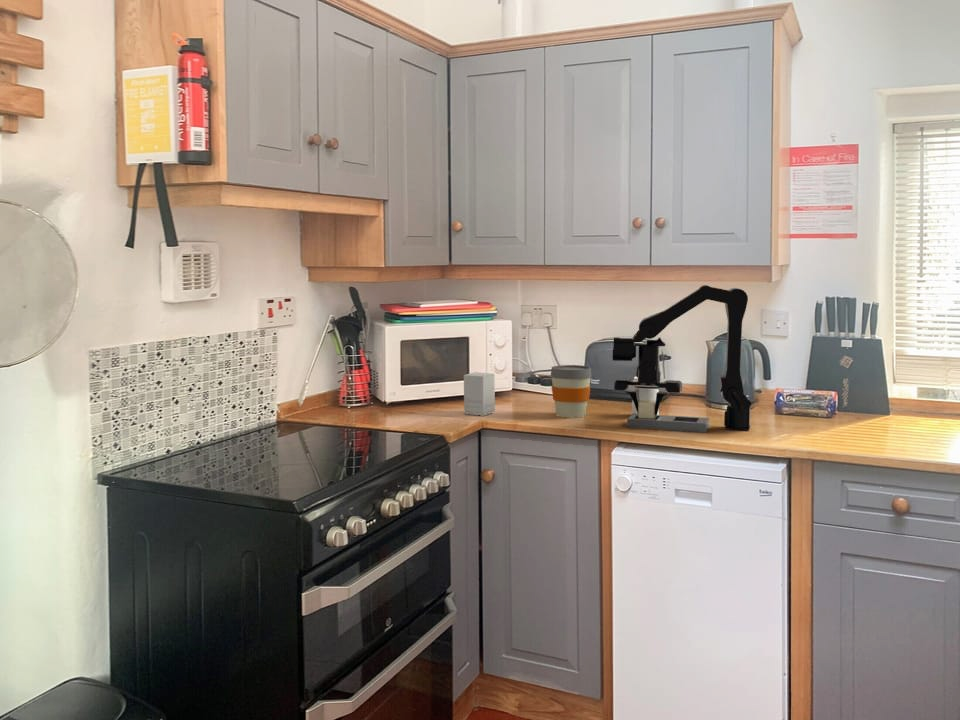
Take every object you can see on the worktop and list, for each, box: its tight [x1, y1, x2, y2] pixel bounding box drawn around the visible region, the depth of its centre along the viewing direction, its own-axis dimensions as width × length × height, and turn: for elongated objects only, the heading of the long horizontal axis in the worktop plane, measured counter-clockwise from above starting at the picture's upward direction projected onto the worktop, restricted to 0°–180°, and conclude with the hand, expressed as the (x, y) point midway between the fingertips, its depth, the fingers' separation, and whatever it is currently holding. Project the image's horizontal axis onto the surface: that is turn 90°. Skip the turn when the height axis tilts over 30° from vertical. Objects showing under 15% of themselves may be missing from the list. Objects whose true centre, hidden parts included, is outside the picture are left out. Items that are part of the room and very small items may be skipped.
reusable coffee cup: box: [550, 364, 593, 418], centre depth 261 cm, size 13×13×15 cm
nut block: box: [638, 400, 657, 420], centre depth 244 cm, size 4×4×5 cm
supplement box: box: [463, 372, 496, 417], centre depth 265 cm, size 7×7×13 cm
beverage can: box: [631, 376, 660, 415], centre depth 259 cm, size 8×8×12 cm
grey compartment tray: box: [626, 413, 710, 433], centre depth 243 cm, size 22×9×2 cm, turn 69°
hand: (647, 414), depth 244 cm, fingers closed on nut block, 4 cm apart
